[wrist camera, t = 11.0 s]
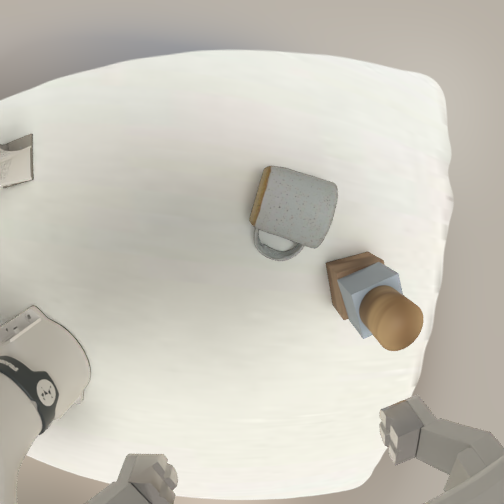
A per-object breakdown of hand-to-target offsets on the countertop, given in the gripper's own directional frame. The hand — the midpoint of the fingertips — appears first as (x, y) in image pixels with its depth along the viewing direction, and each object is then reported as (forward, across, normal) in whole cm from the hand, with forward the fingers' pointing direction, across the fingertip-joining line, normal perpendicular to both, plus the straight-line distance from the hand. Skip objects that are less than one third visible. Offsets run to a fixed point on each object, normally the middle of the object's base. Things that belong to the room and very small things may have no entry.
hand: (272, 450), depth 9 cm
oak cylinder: (+19, -12, +6) cm, 23 cm away
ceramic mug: (+29, -5, -4) cm, 30 cm away
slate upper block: (+24, -12, +6) cm, 28 cm away
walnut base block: (+29, -12, +6) cm, 32 cm away
